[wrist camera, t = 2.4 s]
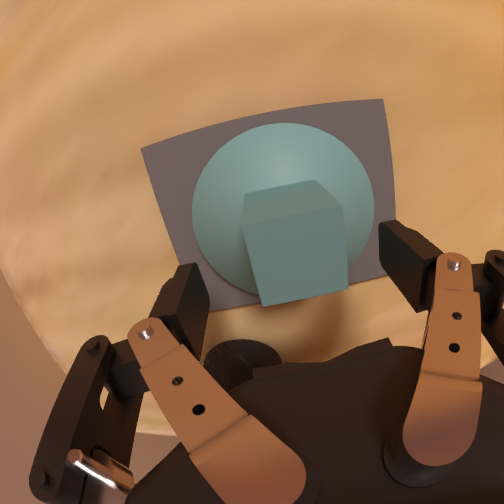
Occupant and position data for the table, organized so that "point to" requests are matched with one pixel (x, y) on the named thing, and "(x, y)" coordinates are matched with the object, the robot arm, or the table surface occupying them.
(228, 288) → the mat
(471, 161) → the table surface
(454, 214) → the table surface
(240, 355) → the travel mug
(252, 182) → the lid
